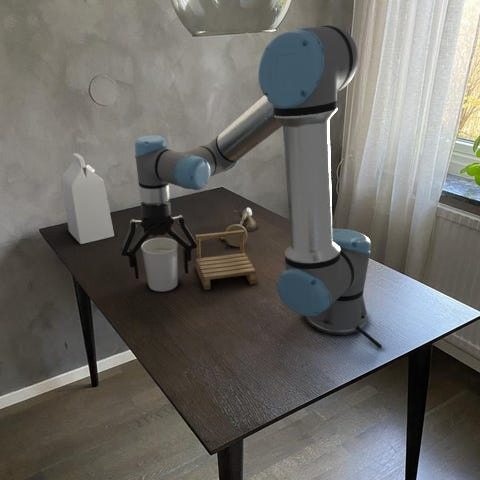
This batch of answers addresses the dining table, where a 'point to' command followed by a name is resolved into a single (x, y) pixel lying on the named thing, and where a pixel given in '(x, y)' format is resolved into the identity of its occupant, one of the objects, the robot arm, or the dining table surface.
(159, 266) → the candle holder
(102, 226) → the milk
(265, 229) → the dining table surface
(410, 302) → the dining table surface
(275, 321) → the dining table surface
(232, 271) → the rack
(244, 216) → the eagle figurine
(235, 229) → the mug
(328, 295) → the robot arm
